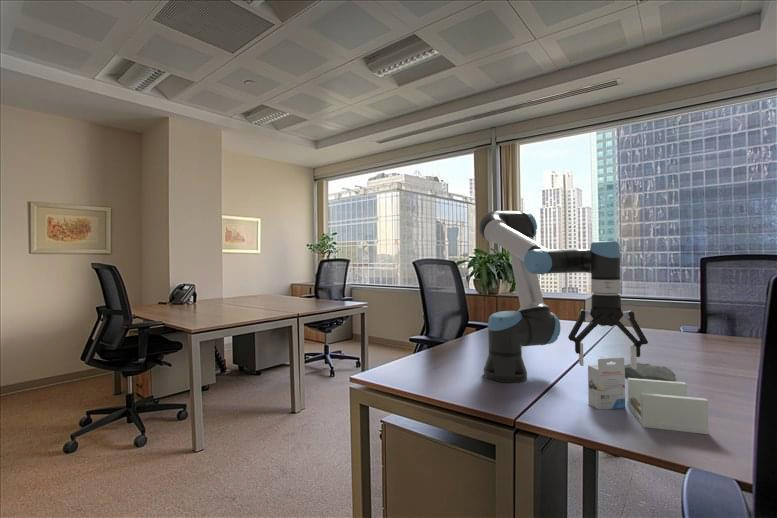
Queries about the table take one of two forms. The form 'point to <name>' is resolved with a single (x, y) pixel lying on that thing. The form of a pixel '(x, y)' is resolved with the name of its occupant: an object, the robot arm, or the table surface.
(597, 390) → the ink box
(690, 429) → the rack
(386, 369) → the table surface
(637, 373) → the stone
